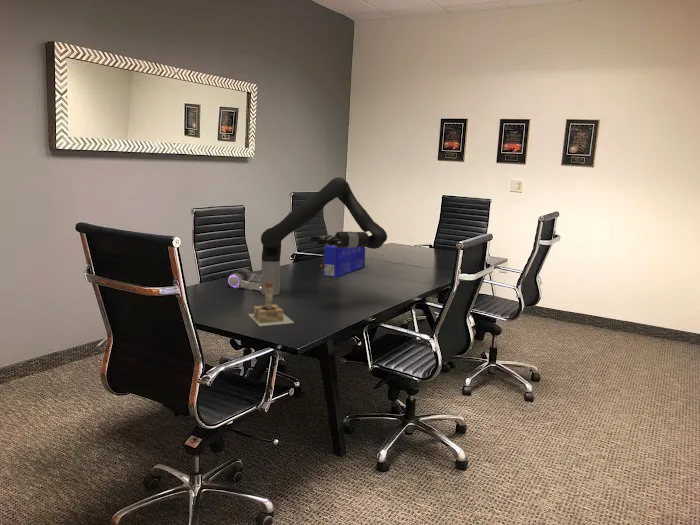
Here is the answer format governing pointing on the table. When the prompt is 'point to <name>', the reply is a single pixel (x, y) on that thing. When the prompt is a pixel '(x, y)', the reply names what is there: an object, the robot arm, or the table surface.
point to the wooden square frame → (268, 314)
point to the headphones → (244, 280)
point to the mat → (285, 321)
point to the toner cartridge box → (342, 260)
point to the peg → (268, 295)
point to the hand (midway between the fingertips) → (314, 240)
